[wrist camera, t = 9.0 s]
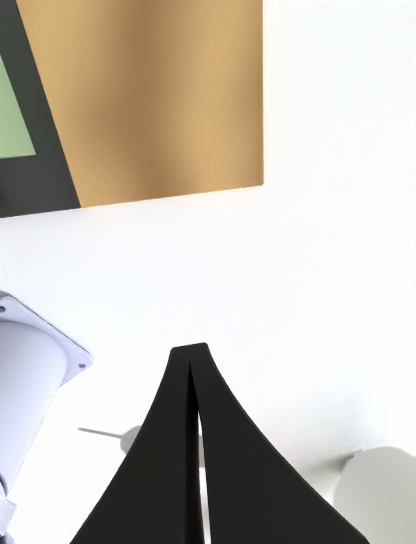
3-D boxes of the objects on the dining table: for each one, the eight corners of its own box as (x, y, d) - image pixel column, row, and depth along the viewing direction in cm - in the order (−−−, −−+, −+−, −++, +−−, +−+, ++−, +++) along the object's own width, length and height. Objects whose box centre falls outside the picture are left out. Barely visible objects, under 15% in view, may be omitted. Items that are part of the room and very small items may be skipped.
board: (255, -101, 11) (262, -123, 10) (259, 183, 17) (264, 185, 16) (-244, -76, 10) (-285, -98, 9) (-68, 224, 15) (-83, 228, 14)
